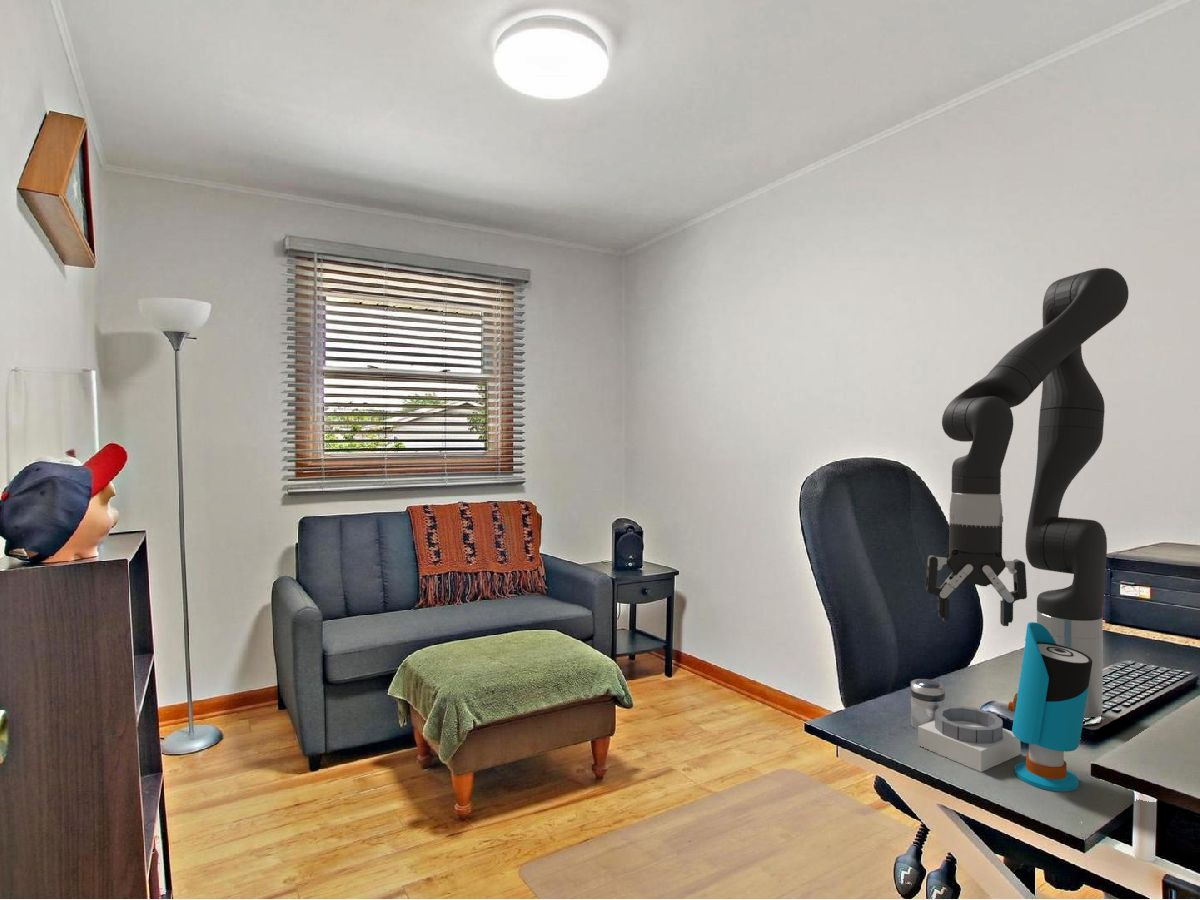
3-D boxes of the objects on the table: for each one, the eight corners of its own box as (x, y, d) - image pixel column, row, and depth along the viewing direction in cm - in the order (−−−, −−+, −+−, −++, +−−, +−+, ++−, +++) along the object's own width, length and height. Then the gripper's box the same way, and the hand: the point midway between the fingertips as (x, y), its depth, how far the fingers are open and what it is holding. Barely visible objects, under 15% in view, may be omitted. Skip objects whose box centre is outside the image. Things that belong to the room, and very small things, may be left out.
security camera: (1089, 640, 92) (1001, 627, 98) (1088, 802, 93) (1001, 779, 99) (1095, 625, 98) (1012, 614, 105) (1095, 777, 99) (1013, 757, 105)
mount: (957, 730, 115) (957, 699, 115) (1020, 754, 106) (1020, 721, 106) (918, 745, 110) (917, 713, 110) (981, 771, 101) (981, 737, 101)
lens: (923, 717, 120) (923, 675, 120) (951, 728, 116) (951, 684, 115) (904, 724, 117) (903, 681, 117) (932, 736, 113) (932, 691, 113)
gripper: (1018, 521, 116) (1017, 621, 116) (923, 518, 120) (922, 614, 120) (1032, 525, 109) (1031, 632, 109) (930, 521, 113) (929, 624, 113)
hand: (974, 623), depth 114 cm, fingers open, 8 cm apart
